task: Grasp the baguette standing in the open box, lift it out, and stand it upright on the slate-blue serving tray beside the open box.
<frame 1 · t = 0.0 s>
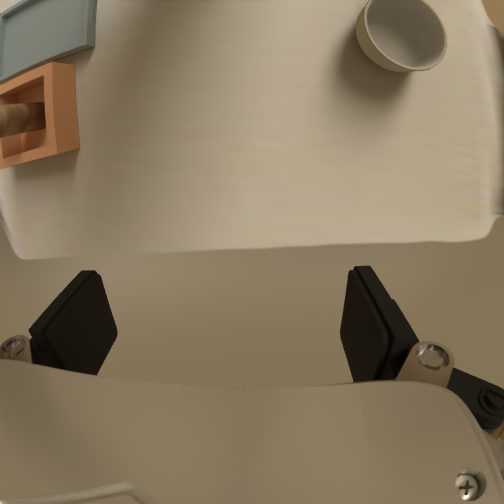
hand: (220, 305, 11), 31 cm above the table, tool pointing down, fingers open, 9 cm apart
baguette: (40, 115, 35), point 1 cm above the table, touching open box
teacup: (384, 31, 31), on the table
open box: (44, 115, 36), on the table
tray: (44, 27, 29), on the table
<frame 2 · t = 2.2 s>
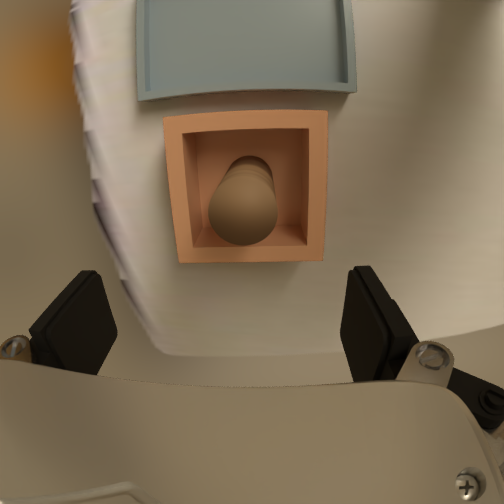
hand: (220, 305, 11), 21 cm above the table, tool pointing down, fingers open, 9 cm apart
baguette: (249, 177, 29), point 1 cm above the table, touching open box
open box: (250, 175, 30), on the table
tray: (244, 26, 24), on the table
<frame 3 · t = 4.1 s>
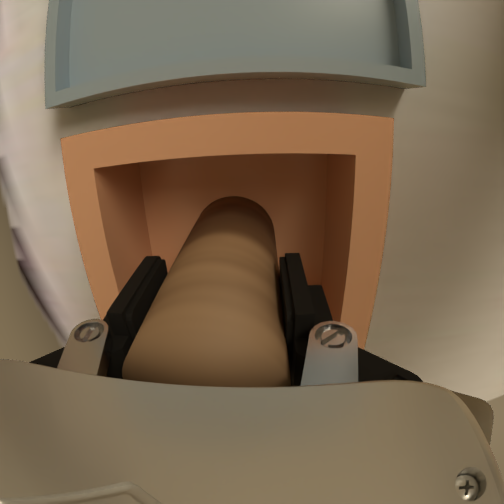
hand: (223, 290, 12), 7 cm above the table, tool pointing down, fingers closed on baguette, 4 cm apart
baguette: (234, 234, 17), point 1 cm above the table, touching open box, gripper
open box: (235, 228, 18), on the table
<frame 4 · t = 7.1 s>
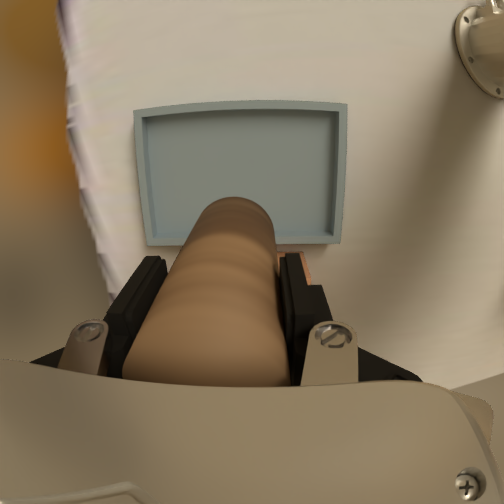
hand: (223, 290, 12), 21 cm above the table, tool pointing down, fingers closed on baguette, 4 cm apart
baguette: (234, 235, 17), point 15 cm above the table, touching gripper
tray: (241, 170, 30), on the table
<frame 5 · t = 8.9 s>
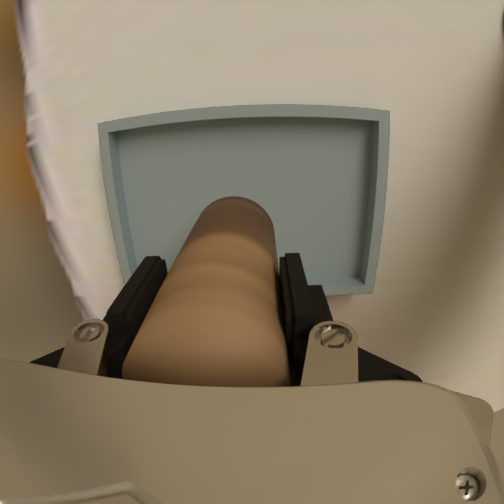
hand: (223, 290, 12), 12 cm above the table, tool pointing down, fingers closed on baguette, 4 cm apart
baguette: (234, 234, 17), point 7 cm above the table, touching gripper
tray: (245, 199, 23), on the table
when the fingers open (8 cm above the table, at t = 10.1 s): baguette stays where it is, resting on tray.
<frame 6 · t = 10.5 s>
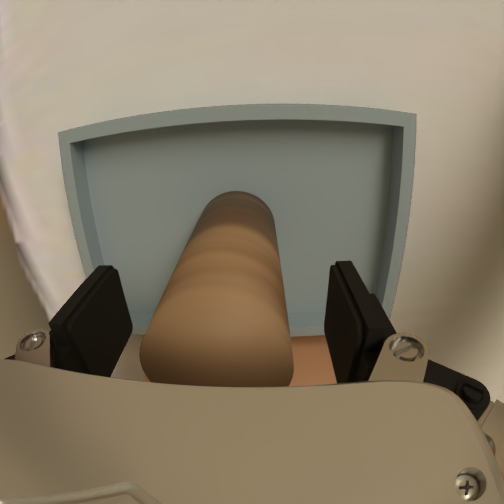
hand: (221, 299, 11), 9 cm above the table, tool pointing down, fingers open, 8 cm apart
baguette: (237, 227, 18), point 1 cm above the table, touching tray
open box: (247, 390, 26), on the table
tray: (236, 222, 19), on the table
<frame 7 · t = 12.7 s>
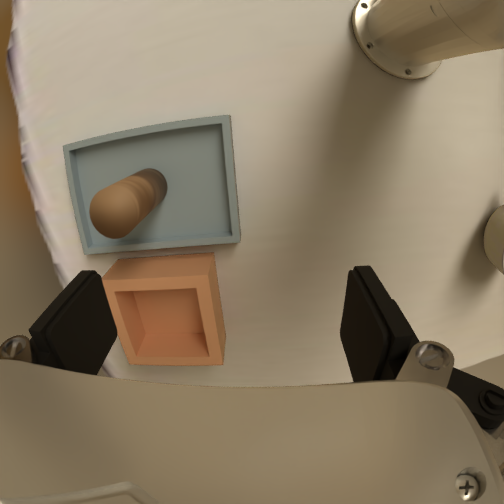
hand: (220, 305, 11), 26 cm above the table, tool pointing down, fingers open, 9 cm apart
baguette: (149, 187, 34), point 1 cm above the table, touching tray
teacup: (498, 220, 36), on the table
open box: (172, 300, 41), on the table
tray: (151, 185, 35), on the table
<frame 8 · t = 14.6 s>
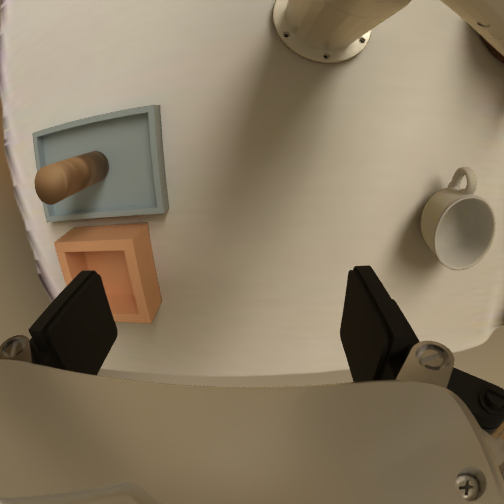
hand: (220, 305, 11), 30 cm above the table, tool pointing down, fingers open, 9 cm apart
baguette: (95, 166, 37), point 1 cm above the table, touching tray
teacup: (442, 205, 40), on the table
open box: (116, 264, 45), on the table
tray: (98, 165, 38), on the table
mug: (501, 39, 27), on the table
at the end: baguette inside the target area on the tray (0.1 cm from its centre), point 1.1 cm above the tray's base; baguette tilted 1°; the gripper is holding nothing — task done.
